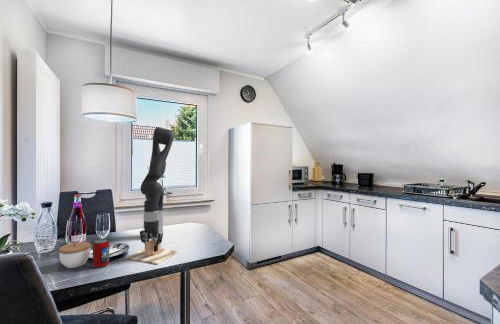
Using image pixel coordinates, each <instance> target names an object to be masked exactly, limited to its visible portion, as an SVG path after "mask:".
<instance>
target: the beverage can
mask: <svg viewBox="0 0 500 324" xmlns="http://www.w3.org/2000/svg"><path fill="white" fill-rule="evenodd" d="M109 263H110V242H109V240H108V239H107V238H98V239H95V240H94V242H93V244H92V266H93V267H95V268H104V267H105V266H107V265H108V264H109Z"/></svg>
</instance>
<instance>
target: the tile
mask: <svg viewBox="0 0 500 324" xmlns="http://www.w3.org/2000/svg"><path fill="white" fill-rule="evenodd" d="M155 242H156V240H155ZM160 248H161V243H160V244H158V251H160ZM144 249H145V256H148V257H149V256H151V255H153V254H154V253H156V252H154V244H153V241H152V239H150V240H149V241H148V242H145V244H144ZM158 251H157V252H158Z"/></svg>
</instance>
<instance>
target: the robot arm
mask: <svg viewBox="0 0 500 324" xmlns="http://www.w3.org/2000/svg"><path fill="white" fill-rule="evenodd" d="M174 138H175V132H174V131H173V130H172V129H167V128H163V127H155V129H154V131H153V136H152V150H151V157H150V161H149V162H150V163H149V169H148V172H147V174H146V176H145V178H144V179H143V181H142V183H141V185H140V192H141V194H142V195H144V197H145V200H144V203H143V230H140V231H139V236H140V240H141V243H143V244H144V245H145V242H148V241H150V240H152V241H153V244H154V252H157V251H158V244H160V245H161V244H162V243H163V237H164V225H163V224H164V194H165V193H164V188H163V186H162V184H161V183H160V182H158V181H159V180H160V179H161V178H162V176H164V174H165V172H166V167H167V158H168V155H169V153H170V151H171V148H172V146H173V142H174ZM160 145H164V148H163V149H162V150H161V148H160ZM155 240H156V242H155Z"/></svg>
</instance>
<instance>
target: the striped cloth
mask: <svg viewBox="0 0 500 324" xmlns="http://www.w3.org/2000/svg"><path fill="white" fill-rule="evenodd" d="M176 253H177V254H178V253H179V251H178V250H173V249H168V248H167V249H166V248H161V247H160V251H158V252H156V253H154V254H153V255H151V256H149V257H148V256H145V248H143V249H141V250H138V251H136V252H134V253H132V254H130V255H127V256H126V257H125V259H126V260H132V261H138V262H141V263H148V264H152V265H157V266H158V265H160V264H161V263H163V262H164V261H166V260H168V259H170V258H172V257H173V256H175V255H176Z"/></svg>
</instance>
